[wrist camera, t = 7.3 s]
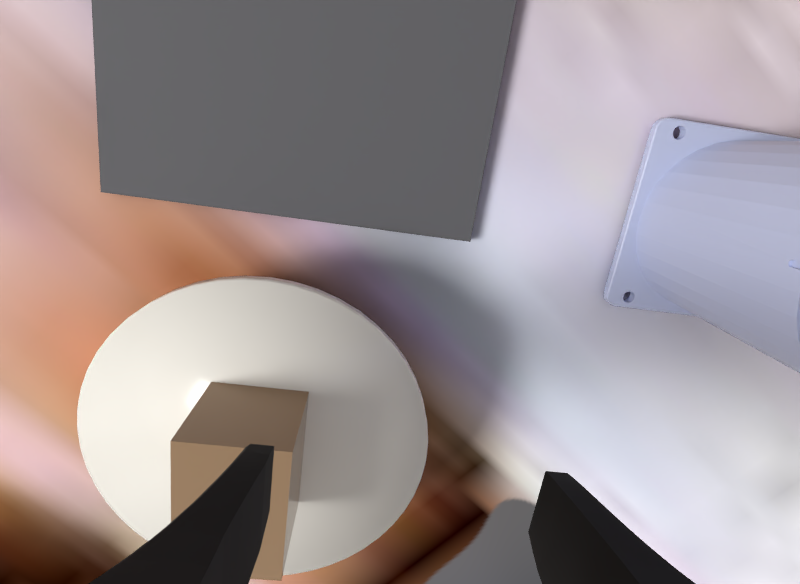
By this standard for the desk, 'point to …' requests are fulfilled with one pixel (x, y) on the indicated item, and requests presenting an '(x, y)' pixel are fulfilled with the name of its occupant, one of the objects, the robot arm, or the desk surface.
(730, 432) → the desk surface
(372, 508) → the lid
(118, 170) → the mat
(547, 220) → the desk surface
